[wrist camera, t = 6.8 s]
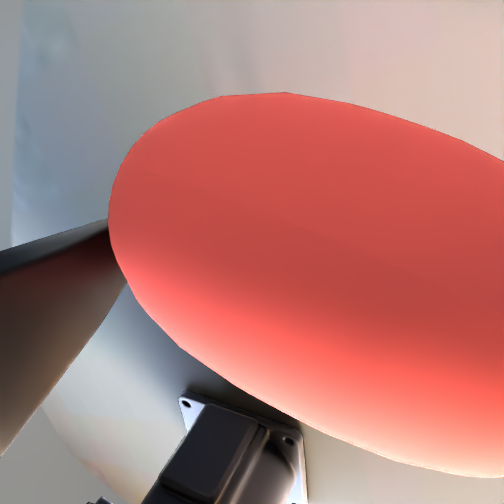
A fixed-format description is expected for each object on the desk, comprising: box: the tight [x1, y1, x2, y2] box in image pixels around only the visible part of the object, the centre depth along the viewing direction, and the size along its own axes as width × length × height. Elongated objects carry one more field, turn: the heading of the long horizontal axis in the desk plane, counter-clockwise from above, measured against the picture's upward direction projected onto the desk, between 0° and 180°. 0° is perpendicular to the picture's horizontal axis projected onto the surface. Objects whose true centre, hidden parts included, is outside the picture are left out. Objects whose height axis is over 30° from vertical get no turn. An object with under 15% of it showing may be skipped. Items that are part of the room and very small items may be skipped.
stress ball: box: [108, 92, 504, 478], centre depth 8 cm, size 5×9×6 cm, turn 70°
